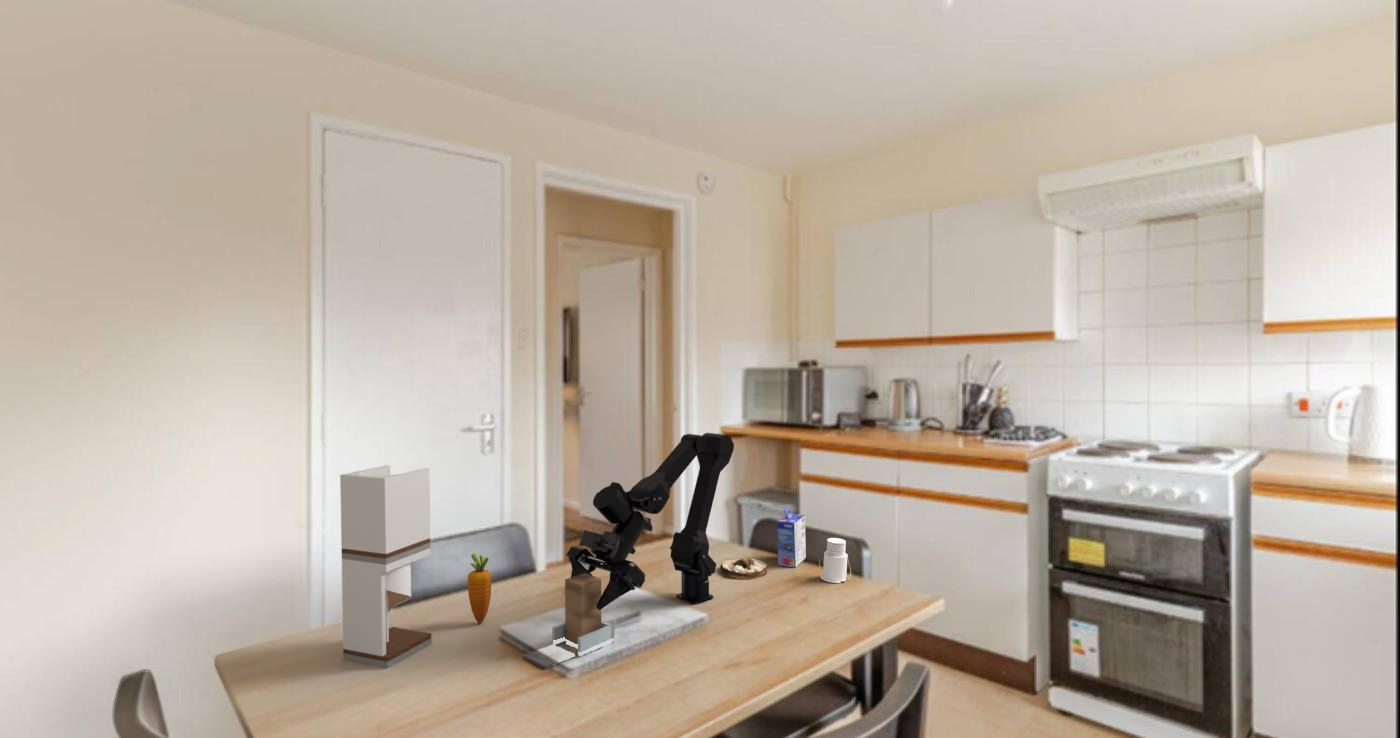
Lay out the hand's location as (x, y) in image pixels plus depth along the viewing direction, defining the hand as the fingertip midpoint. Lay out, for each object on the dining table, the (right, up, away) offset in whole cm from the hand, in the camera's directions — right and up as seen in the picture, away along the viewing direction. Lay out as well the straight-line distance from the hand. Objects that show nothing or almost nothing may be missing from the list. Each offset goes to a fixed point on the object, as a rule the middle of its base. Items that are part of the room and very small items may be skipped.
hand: (582, 603), depth 139 cm
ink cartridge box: (+48, -7, +54) cm, 73 cm away
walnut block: (0, -8, 0) cm, 8 cm away
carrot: (-24, -8, +11) cm, 27 cm away
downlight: (+58, -7, +39) cm, 70 cm away
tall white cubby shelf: (-37, -9, -3) cm, 38 cm away
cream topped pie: (+35, -8, +45) cm, 57 cm away
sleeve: (-2, -8, -2) cm, 9 cm away
